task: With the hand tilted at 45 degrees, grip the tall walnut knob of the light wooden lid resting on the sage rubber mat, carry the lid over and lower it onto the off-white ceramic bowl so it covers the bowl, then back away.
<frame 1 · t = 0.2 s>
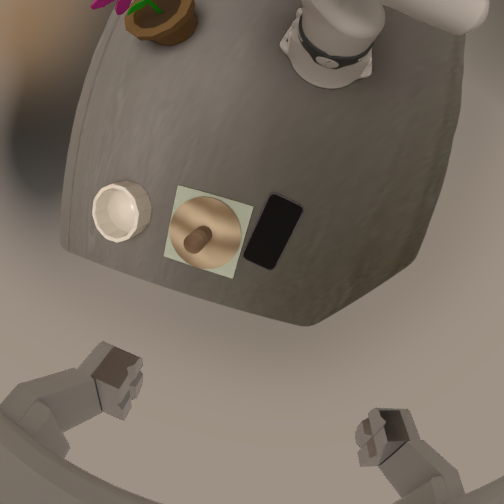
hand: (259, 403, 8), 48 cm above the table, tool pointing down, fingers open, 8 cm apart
bowl: (128, 208, 57), on the table
lid: (205, 232, 56), resting on mat
mat: (205, 232, 57), on the table
flowerpot: (175, 27, 43), on the table
smartphone: (272, 231, 56), on the table
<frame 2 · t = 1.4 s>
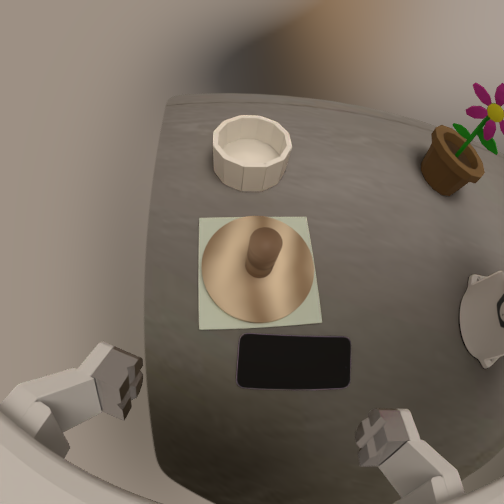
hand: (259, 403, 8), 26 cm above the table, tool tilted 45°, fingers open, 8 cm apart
bowl: (249, 163, 46), on the table
lid: (258, 268, 38), resting on mat
mat: (257, 269, 38), on the table
flowerpot: (437, 178, 51), on the table
smartphone: (294, 363, 34), on the table
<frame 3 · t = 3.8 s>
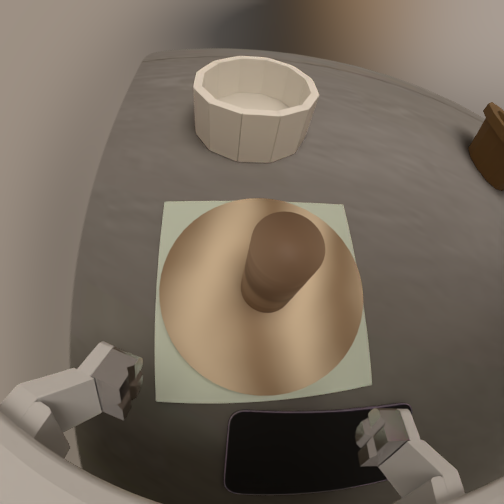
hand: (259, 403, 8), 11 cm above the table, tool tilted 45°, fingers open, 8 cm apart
bowl: (250, 124, 29), on the table
lid: (264, 292, 20), resting on mat
mat: (263, 294, 21), on the table
flowerpot: (486, 167, 34), on the table
smartphone: (323, 450, 17), on the table
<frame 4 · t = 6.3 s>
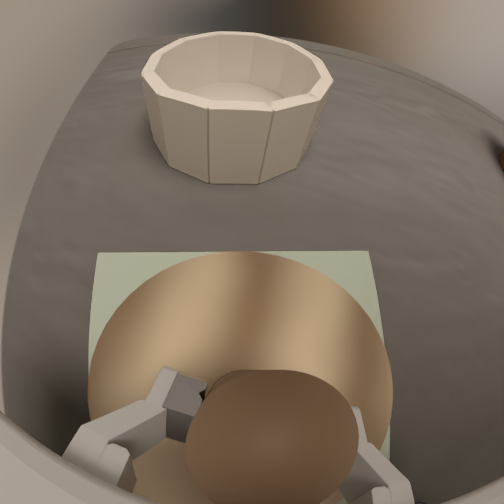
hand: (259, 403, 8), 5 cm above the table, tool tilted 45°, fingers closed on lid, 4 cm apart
bowl: (232, 124, 20), on the table
lid: (244, 404, 12), resting on mat, touching gripper
mat: (242, 403, 12), on the table
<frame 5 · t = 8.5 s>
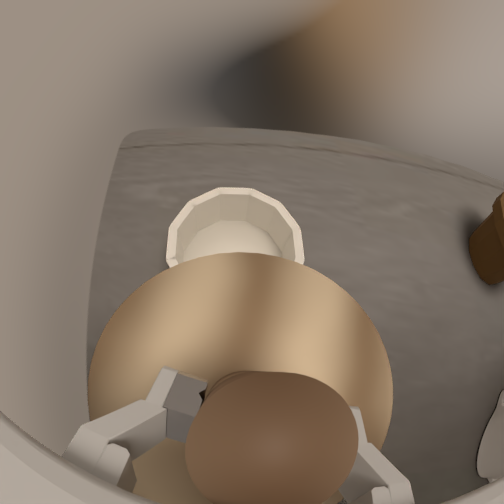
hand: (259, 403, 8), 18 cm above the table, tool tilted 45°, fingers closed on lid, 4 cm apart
bowl: (232, 267, 30), on the table
lid: (244, 405, 12), point 14 cm above the table, touching gripper
flowerpot: (484, 257, 35), on the table
when the fingers open (12 cm above the table, at t = 11.0 s): lid drops 1 cm, resting on bowl.
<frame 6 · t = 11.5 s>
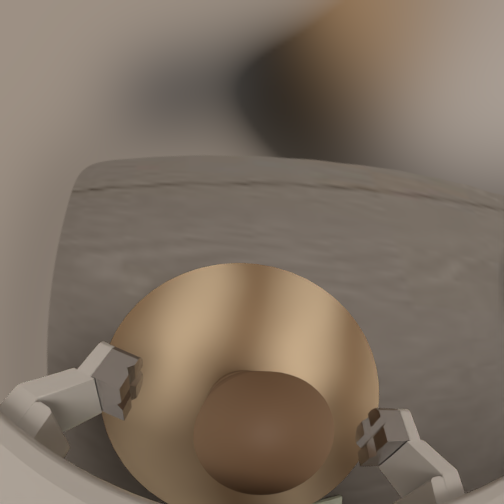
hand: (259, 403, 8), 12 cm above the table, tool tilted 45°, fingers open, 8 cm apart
lid: (242, 402, 13), point 6 cm above the table, touching bowl
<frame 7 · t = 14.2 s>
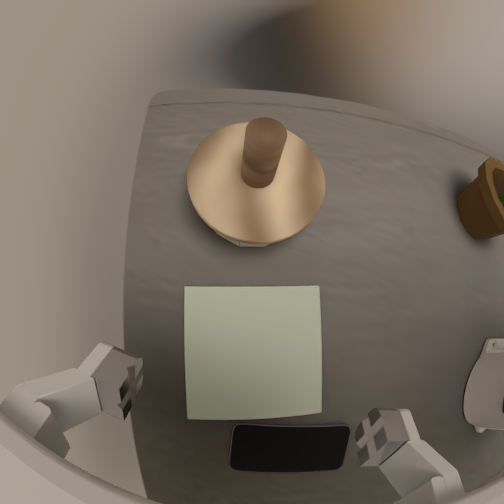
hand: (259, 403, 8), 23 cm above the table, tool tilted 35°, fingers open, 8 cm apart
lid: (256, 179, 30), point 6 cm above the table, touching bowl
mat: (254, 354, 31), on the table
flowerpot: (472, 215, 40), on the table
smartphone: (289, 447, 28), on the table
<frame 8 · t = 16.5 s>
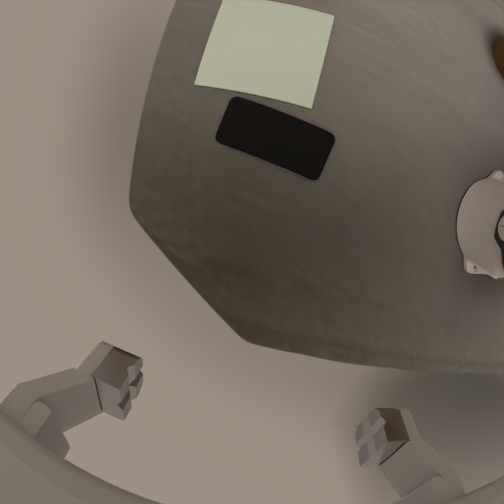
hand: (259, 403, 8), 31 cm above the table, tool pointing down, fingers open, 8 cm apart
mat: (266, 45, 29), on the table
smartphone: (275, 137, 35), on the table
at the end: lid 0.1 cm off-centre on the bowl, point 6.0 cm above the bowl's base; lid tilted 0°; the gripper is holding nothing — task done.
